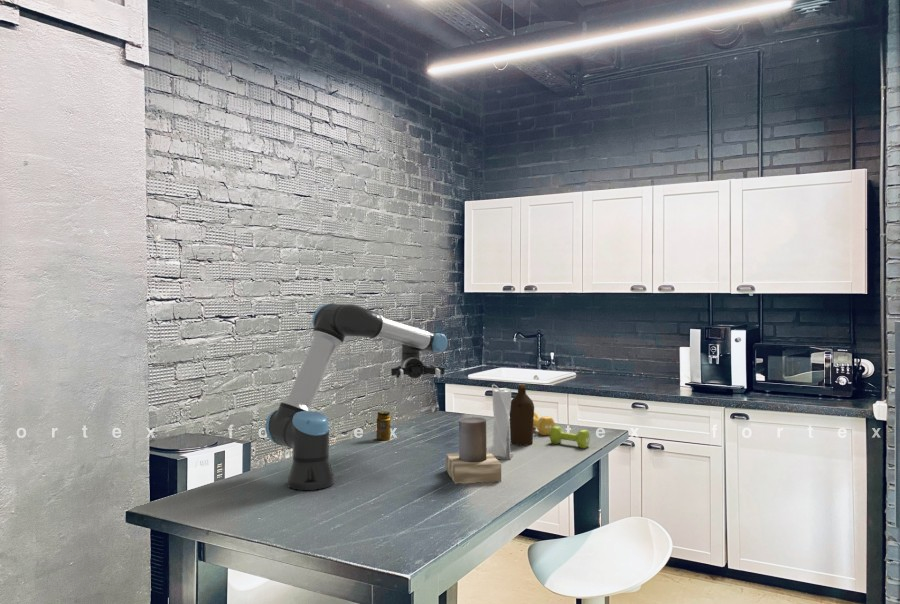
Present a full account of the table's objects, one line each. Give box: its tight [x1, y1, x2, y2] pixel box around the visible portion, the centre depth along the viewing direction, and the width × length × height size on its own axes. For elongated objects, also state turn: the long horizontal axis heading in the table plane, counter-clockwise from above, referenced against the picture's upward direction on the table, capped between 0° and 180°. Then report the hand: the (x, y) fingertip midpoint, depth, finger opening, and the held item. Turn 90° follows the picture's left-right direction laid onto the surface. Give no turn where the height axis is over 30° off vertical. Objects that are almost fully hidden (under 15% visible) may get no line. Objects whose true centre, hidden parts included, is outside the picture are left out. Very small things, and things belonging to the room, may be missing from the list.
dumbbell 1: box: [533, 411, 557, 436], centre depth 293 cm, size 19×9×8 cm, turn 22°
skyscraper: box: [491, 383, 514, 460], centre depth 248 cm, size 8×8×28 cm
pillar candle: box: [458, 416, 488, 462], centre depth 221 cm, size 10×10×15 cm
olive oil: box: [509, 383, 535, 446], centre depth 270 cm, size 11×11×25 cm
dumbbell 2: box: [549, 425, 591, 449], centre depth 267 cm, size 16×8×7 cm, turn 54°
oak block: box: [445, 451, 502, 485], centre depth 222 cm, size 16×16×6 cm
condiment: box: [369, 410, 395, 444], centre depth 275 cm, size 7×8×12 cm
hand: (421, 374), depth 232 cm, fingers open, 13 cm apart
